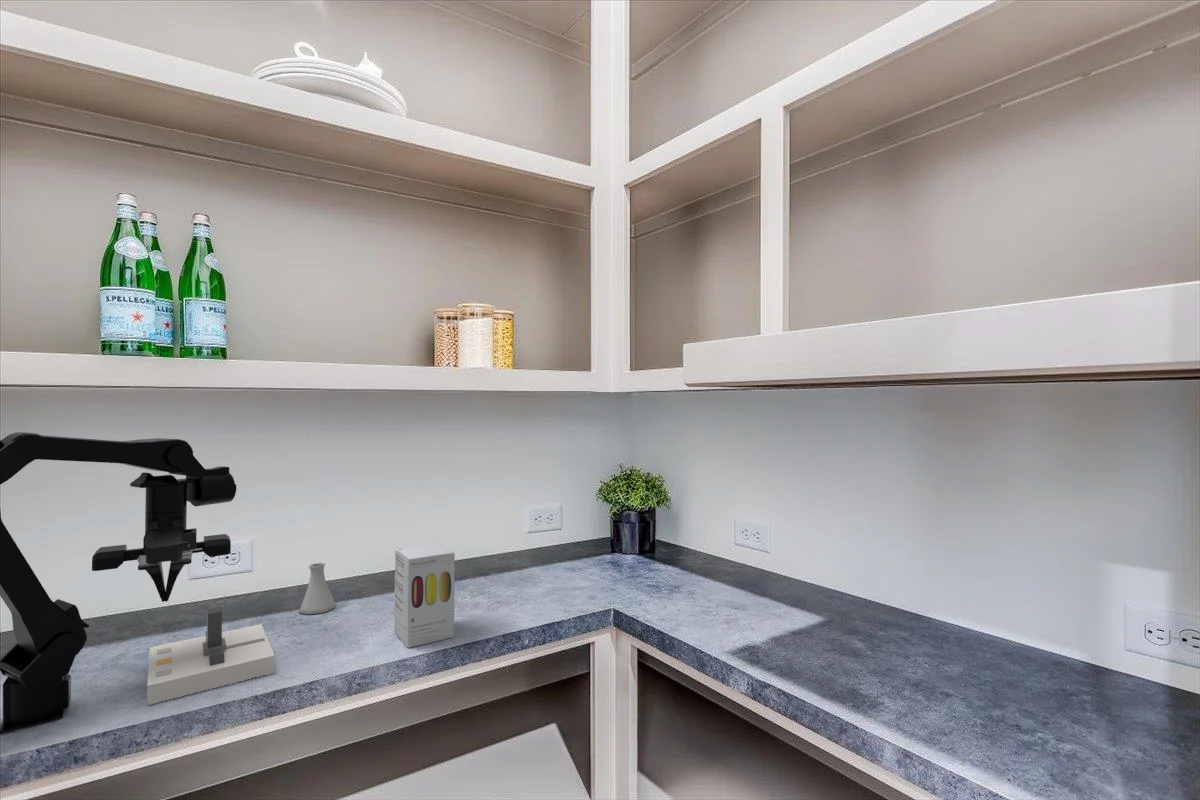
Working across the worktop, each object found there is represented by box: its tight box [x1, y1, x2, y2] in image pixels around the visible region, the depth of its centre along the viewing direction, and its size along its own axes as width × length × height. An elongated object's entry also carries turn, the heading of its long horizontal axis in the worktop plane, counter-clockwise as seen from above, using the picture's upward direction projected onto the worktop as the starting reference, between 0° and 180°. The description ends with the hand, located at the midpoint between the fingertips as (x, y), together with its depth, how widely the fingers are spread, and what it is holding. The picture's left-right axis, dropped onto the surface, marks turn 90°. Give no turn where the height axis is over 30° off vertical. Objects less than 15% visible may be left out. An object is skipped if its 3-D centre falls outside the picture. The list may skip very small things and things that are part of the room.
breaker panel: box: [146, 623, 275, 706], centre depth 98 cm, size 17×17×4 cm
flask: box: [298, 562, 336, 615], centre depth 126 cm, size 7×7×10 cm
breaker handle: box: [203, 606, 226, 654], centre depth 99 cm, size 3×4×7 cm
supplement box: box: [393, 542, 456, 649], centre depth 113 cm, size 10×9×17 cm
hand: (165, 600), depth 98 cm, fingers closed
